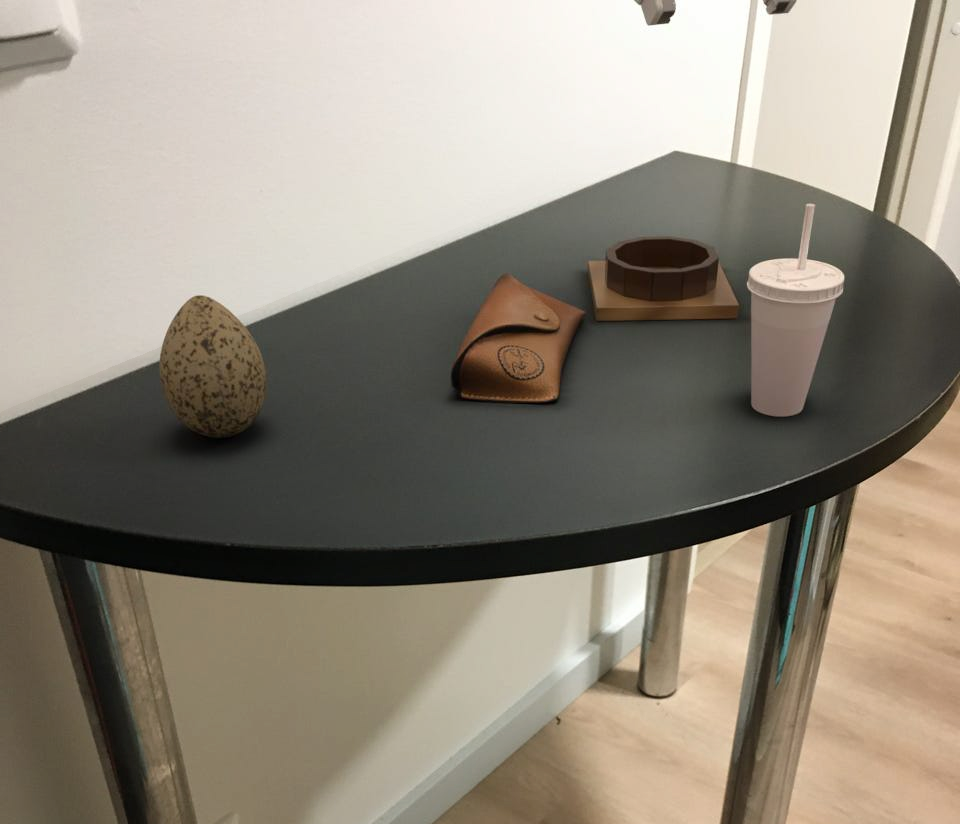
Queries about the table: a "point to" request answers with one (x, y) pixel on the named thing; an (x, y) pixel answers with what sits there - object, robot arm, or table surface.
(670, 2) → the robot arm
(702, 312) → the dock pad
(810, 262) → the smoothie
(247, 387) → the decorative egg
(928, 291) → the table surface
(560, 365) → the sunglasses case
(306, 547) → the table surface
